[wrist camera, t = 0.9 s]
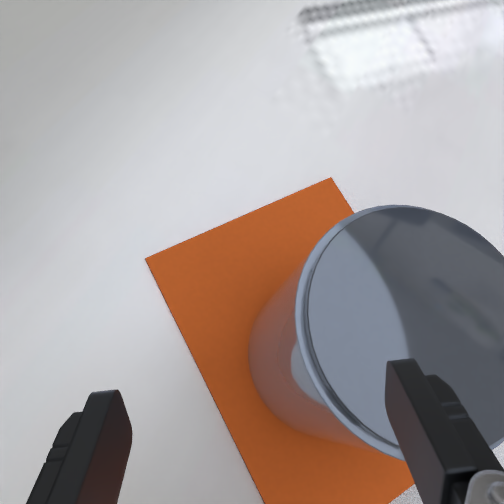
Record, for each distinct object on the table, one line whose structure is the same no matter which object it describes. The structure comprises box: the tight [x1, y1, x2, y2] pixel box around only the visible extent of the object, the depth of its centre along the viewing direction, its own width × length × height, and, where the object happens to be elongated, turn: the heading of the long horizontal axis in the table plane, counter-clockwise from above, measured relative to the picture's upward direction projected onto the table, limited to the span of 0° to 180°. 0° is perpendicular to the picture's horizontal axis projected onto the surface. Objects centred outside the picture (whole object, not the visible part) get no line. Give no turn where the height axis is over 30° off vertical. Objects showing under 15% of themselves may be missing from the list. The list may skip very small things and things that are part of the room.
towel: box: [145, 177, 415, 504], centre depth 33 cm, size 24×18×1 cm
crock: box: [248, 205, 504, 461], centre depth 25 cm, size 12×12×15 cm
